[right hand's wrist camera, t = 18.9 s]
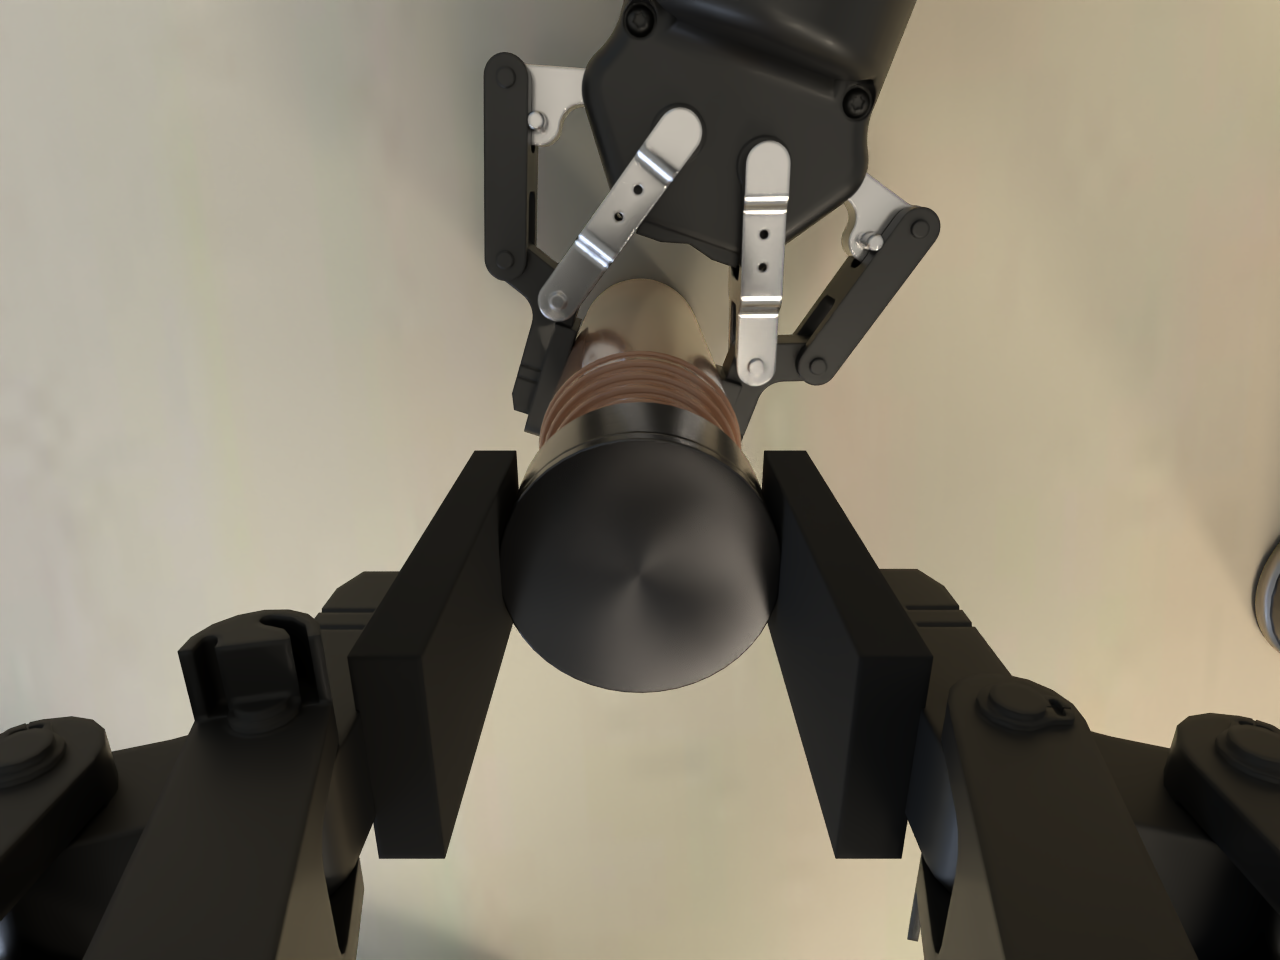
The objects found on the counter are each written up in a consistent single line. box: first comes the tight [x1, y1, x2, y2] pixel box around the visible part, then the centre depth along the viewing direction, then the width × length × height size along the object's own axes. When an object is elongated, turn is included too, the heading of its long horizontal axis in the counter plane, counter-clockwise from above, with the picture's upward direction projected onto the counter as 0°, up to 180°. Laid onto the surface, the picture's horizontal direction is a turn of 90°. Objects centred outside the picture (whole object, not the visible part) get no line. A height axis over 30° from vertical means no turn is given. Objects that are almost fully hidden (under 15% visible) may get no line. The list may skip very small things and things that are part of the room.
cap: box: [499, 402, 781, 693], centre depth 13 cm, size 5×4×2 cm
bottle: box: [539, 278, 741, 450], centre depth 22 cm, size 5×5×20 cm
